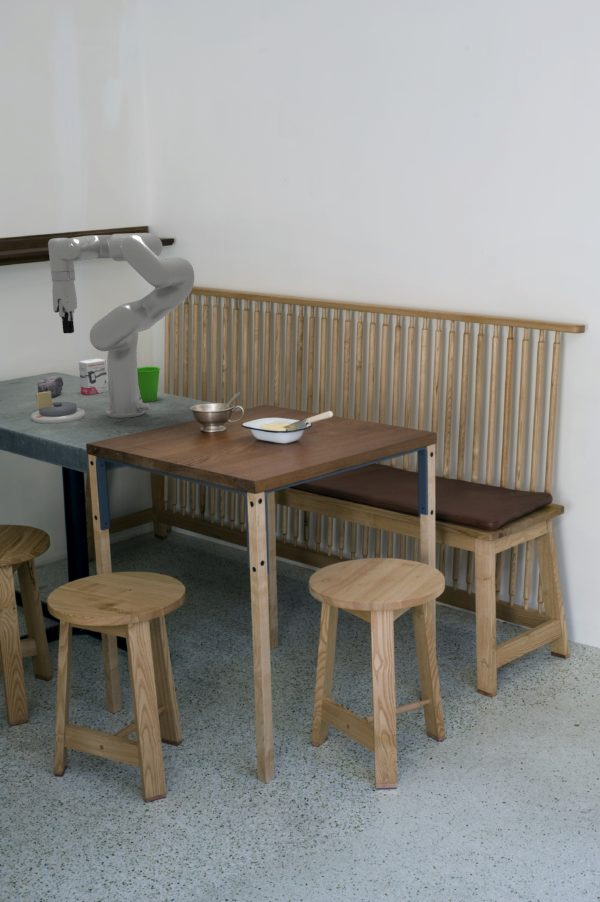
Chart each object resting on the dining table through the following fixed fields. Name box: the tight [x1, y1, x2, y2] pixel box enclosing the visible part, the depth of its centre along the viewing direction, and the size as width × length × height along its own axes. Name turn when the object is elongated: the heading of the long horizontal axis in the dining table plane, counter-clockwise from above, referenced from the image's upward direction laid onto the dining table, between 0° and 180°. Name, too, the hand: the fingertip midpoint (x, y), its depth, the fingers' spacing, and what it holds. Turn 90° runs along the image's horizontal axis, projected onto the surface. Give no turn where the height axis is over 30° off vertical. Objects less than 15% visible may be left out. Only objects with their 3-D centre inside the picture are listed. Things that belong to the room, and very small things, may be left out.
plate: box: [30, 407, 86, 424], centre depth 357 cm, size 17×17×2 cm
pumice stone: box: [37, 375, 64, 399], centre depth 391 cm, size 10×8×10 cm
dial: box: [35, 391, 78, 416], centre depth 356 cm, size 12×12×7 cm
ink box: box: [78, 357, 109, 396], centre depth 394 cm, size 8×5×12 cm, turn 134°
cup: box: [137, 365, 161, 403], centre depth 379 cm, size 9×9×11 cm
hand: (68, 332), depth 361 cm, fingers closed
